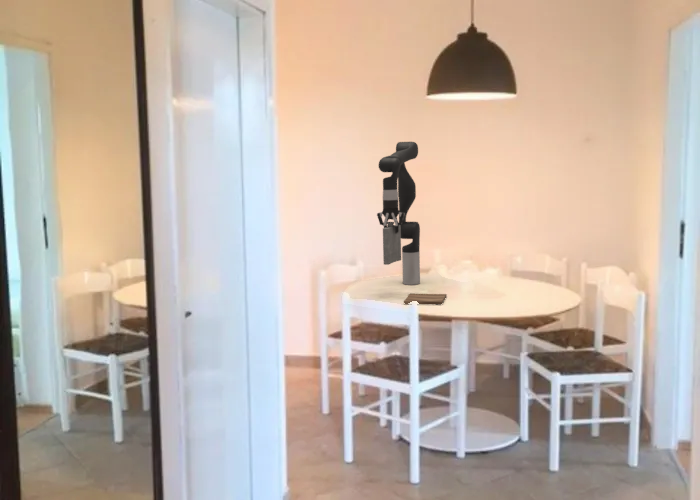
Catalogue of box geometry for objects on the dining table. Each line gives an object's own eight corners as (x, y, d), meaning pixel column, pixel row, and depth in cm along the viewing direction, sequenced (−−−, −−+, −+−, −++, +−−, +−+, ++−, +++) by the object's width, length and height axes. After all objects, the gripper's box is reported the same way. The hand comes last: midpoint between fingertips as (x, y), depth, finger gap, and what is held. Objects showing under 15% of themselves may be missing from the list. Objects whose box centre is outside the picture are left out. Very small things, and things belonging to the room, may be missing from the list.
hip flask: (388, 264, 387) (387, 223, 384) (380, 264, 389) (379, 223, 386) (402, 259, 401) (401, 220, 398) (395, 259, 403) (394, 219, 400)
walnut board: (410, 296, 395) (410, 293, 394) (446, 297, 390) (446, 294, 390) (403, 304, 377) (403, 301, 377) (441, 305, 373) (441, 301, 373)
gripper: (406, 198, 392) (407, 232, 395) (377, 198, 396) (378, 232, 398) (403, 199, 385) (404, 234, 387) (374, 199, 388) (375, 234, 391)
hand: (391, 233), depth 393 cm, fingers closed on hip flask, 4 cm apart
